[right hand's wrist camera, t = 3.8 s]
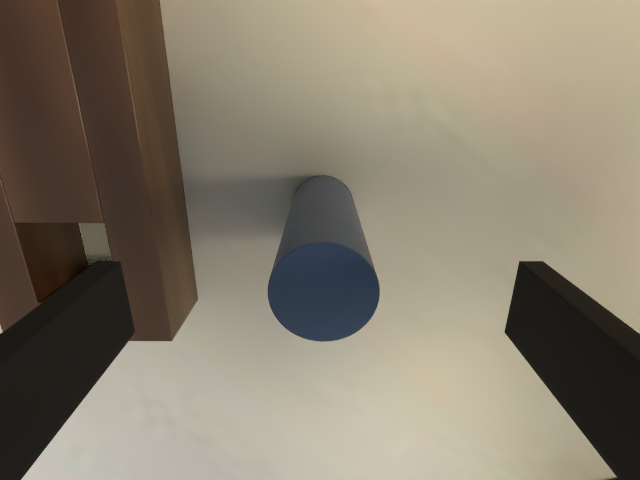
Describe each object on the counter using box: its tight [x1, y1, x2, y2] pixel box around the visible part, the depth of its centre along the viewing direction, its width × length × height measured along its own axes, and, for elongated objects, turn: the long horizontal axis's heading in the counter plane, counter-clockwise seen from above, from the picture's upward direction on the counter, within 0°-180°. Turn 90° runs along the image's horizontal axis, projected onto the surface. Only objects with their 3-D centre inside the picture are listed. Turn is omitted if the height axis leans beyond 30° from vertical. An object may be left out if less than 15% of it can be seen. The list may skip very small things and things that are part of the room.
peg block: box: [0, 0, 198, 341], centre depth 19 cm, size 10×27×8 cm, turn 0°
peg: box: [268, 176, 379, 341], centre depth 19 cm, size 4×4×12 cm
